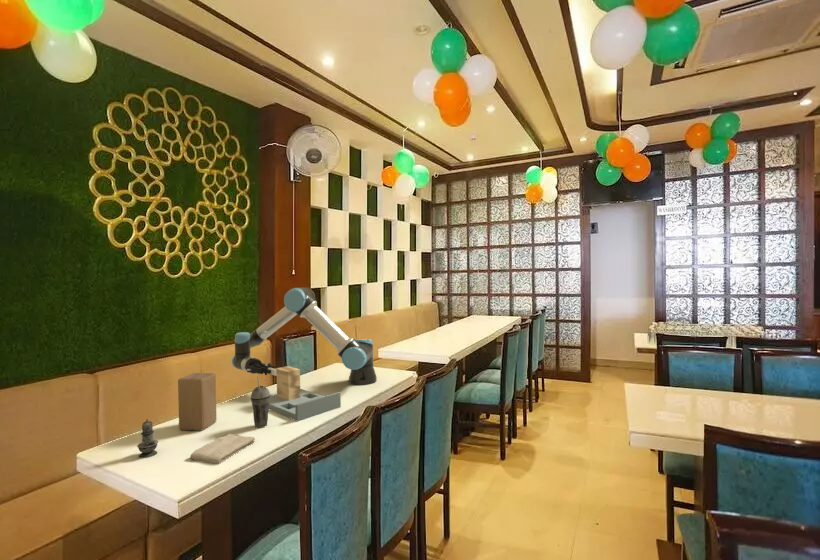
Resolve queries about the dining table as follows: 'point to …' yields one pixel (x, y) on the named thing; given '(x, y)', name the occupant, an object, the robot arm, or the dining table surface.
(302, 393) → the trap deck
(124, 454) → the dining table surface
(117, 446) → the dining table surface
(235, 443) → the washcloth
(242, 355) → the robot arm
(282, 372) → the oak block
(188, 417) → the block
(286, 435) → the dining table surface
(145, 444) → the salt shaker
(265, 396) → the beverage cup
